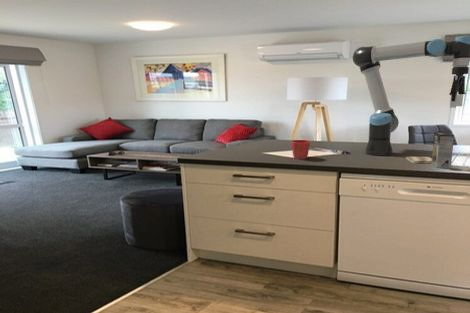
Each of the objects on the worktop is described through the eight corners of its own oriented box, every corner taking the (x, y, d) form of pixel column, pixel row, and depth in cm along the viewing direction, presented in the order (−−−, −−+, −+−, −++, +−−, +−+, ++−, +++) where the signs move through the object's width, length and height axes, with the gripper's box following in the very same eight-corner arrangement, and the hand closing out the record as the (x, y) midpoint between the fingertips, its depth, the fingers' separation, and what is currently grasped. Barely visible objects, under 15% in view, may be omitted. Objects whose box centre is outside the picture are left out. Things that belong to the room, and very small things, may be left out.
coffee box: (431, 164, 169) (433, 132, 166) (445, 164, 168) (448, 132, 164) (436, 168, 161) (439, 134, 158) (451, 168, 159) (454, 134, 156)
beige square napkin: (413, 163, 172) (413, 160, 172) (406, 158, 183) (406, 156, 183) (436, 163, 170) (436, 161, 170) (427, 158, 181) (428, 156, 181)
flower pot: (311, 156, 197) (311, 139, 195) (308, 160, 187) (308, 142, 185) (292, 155, 200) (293, 139, 198) (289, 159, 190) (289, 142, 188)
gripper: (463, 65, 167) (458, 108, 172) (474, 67, 185) (469, 105, 189) (446, 66, 173) (441, 107, 177) (458, 67, 190) (453, 105, 194)
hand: (456, 106), depth 183 cm, fingers open, 13 cm apart
